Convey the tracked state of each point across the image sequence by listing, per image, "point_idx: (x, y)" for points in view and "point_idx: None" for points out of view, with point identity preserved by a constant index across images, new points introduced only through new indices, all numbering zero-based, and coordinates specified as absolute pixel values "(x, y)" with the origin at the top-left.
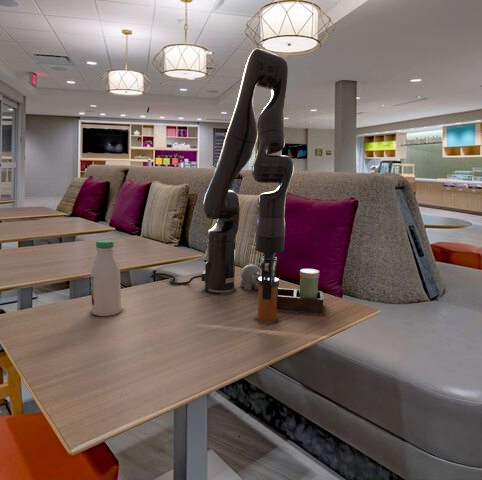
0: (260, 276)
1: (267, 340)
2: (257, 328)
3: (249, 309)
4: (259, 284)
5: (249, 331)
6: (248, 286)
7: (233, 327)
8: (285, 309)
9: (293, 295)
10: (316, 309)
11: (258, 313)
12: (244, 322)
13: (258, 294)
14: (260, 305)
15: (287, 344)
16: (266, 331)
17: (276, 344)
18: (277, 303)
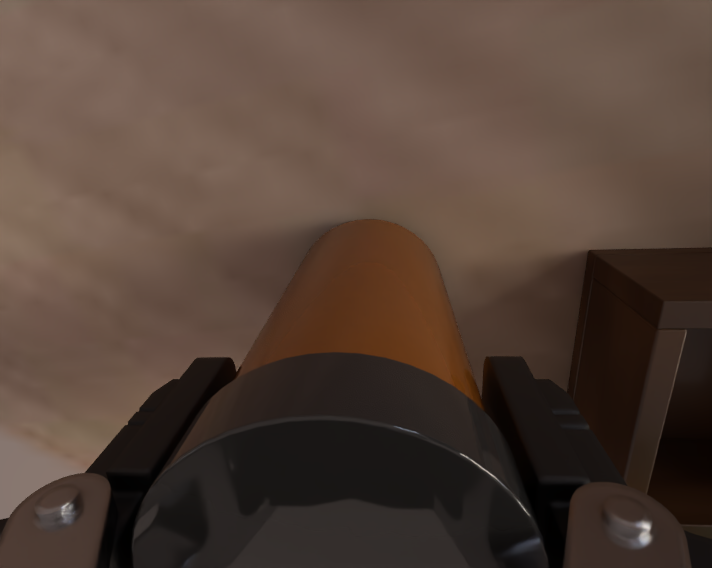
0: None
1: (47, 323)
2: (196, 242)
3: (602, 104)
4: (218, 397)
5: (122, 198)
6: None
7: (138, 61)
8: (576, 398)
9: (680, 524)
10: None
11: (321, 243)
12: (272, 127)
13: (311, 298)
14: (287, 287)
15: (54, 419)
16: (172, 303)
17: (24, 371)
18: (603, 366)
